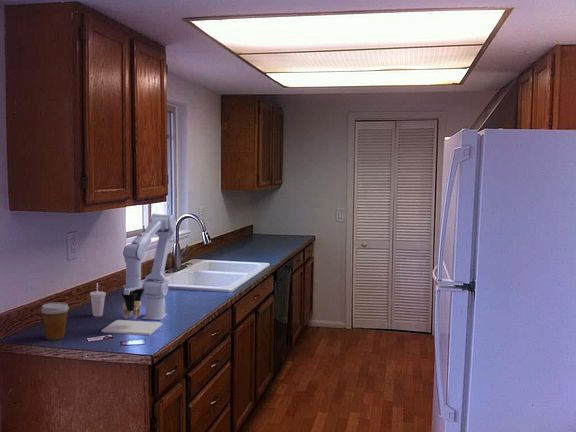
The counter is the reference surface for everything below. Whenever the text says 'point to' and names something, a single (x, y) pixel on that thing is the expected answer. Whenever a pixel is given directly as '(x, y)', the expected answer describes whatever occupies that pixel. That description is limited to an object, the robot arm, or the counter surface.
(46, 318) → the disposable coffee cup
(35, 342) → the counter surface
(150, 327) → the cutting board
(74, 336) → the counter surface
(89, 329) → the counter surface
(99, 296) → the smoothie
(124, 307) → the stool
